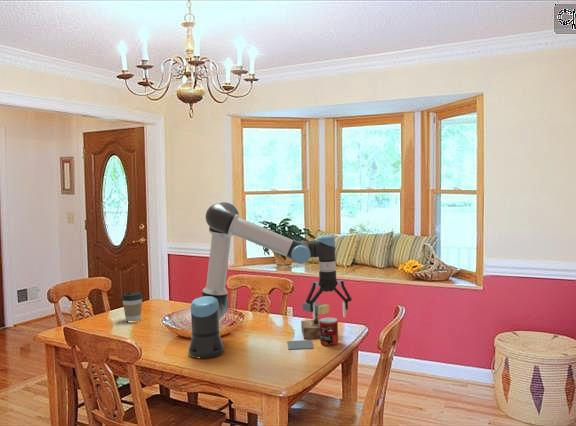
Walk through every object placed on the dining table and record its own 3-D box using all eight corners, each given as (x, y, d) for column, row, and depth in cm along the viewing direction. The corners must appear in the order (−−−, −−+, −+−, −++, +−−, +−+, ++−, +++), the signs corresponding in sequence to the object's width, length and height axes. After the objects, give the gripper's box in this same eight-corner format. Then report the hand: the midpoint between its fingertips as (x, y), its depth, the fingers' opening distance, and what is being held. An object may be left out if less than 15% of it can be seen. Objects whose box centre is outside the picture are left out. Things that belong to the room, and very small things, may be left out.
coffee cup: (128, 318, 279) (126, 291, 278) (147, 318, 277) (146, 291, 276) (118, 323, 267) (117, 296, 267) (138, 324, 266) (137, 296, 265)
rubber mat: (288, 349, 218) (288, 349, 218) (287, 341, 229) (287, 341, 229) (313, 348, 219) (313, 347, 218) (311, 340, 229) (311, 339, 229)
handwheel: (303, 321, 241) (302, 303, 241) (310, 319, 245) (309, 301, 244) (322, 326, 233) (321, 307, 232) (329, 323, 236) (329, 304, 236)
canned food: (316, 344, 224) (316, 320, 223) (328, 340, 230) (327, 316, 229) (330, 348, 219) (329, 323, 218) (341, 343, 225) (341, 319, 224)
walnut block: (304, 339, 232) (303, 327, 232) (301, 330, 245) (301, 320, 245) (331, 337, 233) (331, 326, 233) (328, 329, 246) (327, 318, 246)
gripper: (300, 273, 218) (302, 321, 219) (357, 270, 219) (358, 318, 221) (298, 270, 225) (300, 317, 227) (353, 267, 227) (355, 313, 228)
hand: (329, 317), depth 224 cm, fingers open, 13 cm apart
